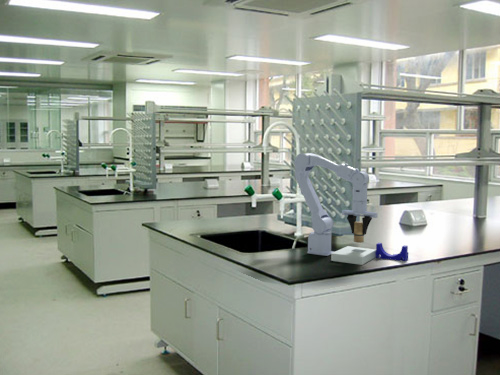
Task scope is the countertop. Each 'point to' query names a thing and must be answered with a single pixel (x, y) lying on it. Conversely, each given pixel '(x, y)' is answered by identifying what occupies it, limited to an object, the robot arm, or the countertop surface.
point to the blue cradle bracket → (384, 255)
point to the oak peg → (358, 232)
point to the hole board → (353, 255)
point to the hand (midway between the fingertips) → (359, 233)
